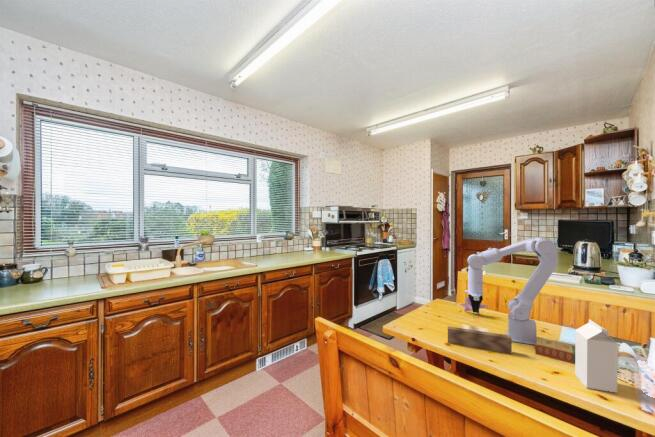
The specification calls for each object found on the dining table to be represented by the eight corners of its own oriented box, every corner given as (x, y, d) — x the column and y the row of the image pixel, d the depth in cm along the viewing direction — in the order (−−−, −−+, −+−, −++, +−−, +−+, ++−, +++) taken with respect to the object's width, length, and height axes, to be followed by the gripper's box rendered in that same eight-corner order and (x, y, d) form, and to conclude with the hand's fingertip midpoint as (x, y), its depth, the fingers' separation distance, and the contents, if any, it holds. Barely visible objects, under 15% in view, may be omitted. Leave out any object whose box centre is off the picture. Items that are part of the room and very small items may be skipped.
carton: (536, 346, 108) (536, 336, 108) (592, 360, 97) (592, 348, 97) (535, 355, 101) (535, 343, 101) (595, 371, 91) (595, 358, 91)
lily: (491, 319, 137) (488, 300, 141) (481, 315, 130) (478, 295, 135) (468, 320, 145) (465, 302, 150) (457, 316, 139) (454, 298, 143)
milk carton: (586, 388, 82) (587, 326, 81) (574, 375, 88) (575, 317, 88) (617, 393, 79) (618, 329, 79) (603, 379, 86) (603, 320, 85)
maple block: (488, 340, 113) (488, 328, 113) (488, 348, 107) (488, 335, 107) (462, 335, 118) (462, 324, 118) (460, 342, 112) (460, 330, 112)
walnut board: (510, 351, 104) (510, 335, 104) (511, 354, 102) (511, 338, 101) (447, 340, 113) (447, 326, 113) (447, 342, 111) (447, 328, 111)
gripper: (464, 277, 128) (464, 305, 128) (465, 284, 115) (466, 316, 115) (481, 278, 125) (481, 307, 125) (484, 286, 112) (485, 318, 112)
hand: (475, 311), depth 120 cm, fingers closed
